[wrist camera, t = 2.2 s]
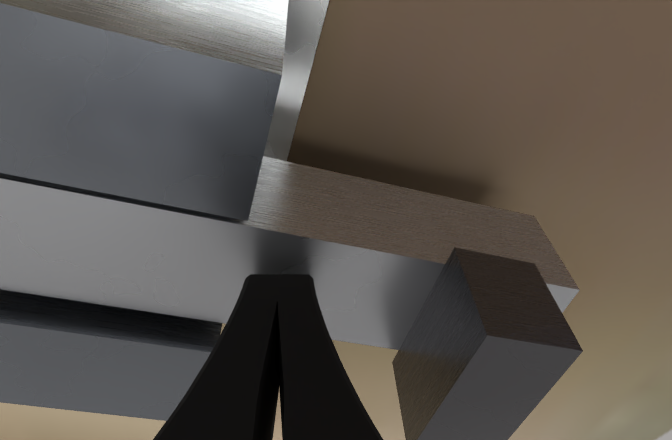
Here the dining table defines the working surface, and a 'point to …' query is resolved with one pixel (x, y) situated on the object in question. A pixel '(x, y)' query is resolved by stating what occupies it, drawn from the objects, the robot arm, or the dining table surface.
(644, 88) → the dining table surface
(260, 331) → the robot arm
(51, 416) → the dining table surface
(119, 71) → the bearing block
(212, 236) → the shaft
